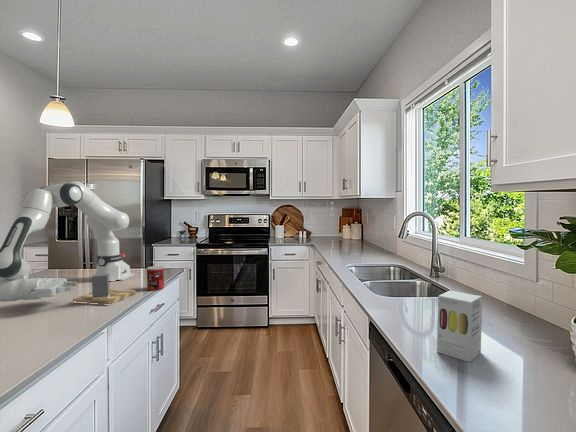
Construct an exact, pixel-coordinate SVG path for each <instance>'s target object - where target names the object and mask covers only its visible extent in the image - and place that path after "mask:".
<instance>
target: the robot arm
mask: <svg viewBox="0 0 576 432" xmlns="http://www.w3.org/2000/svg"><path fill="white" fill-rule="evenodd" d="M68 206H75V207H76V208H77V209H78V210H79V211H80V212H82V213H83V214H84V215H85V216H86V225H87V227H88V228H89V229H90V230H91V231H92V233H93V234H94V236H95V240H96V245H97V256H96V262H97V264H96V268H95V274H109V281H111V282H117V281H116V280H120V281H125V280H128V279H129V277H130V278H132V277H134V276H135V275H136V273H134V272H131V266H130V265H129V264H128V263H126V262H125V261H124V260H123V258H125V256H126V255H125V253H121V252H120V250H121V249H120V240H119V239H118V238H117V237H116V236H115V234H114V233H113V232H115V231H116V232H117V231H123V230H125V229H127V228H128V227H129V225H130V217H129V215H128V214H127V213H126V212H123V211H121V210H118V209H117V208H115V207H113V206H111V205H109V204H108V203H107V202H105V201H103V200H102V199H101V198H100V197H99V196H98V195H97V194H96V193H95V192H94V191H93V190H91V188H89V187H88V186H87V185H85V184H84V183H82V182H81V181H79V180H72V181H69V182H67V183H57V184H52V185H46V186H42V187H40V188H35V189H32V190H30V191H29V192H28V194H26V197H25V199H24V201H23V202H22V205H21V207H20V210H19V212H18V214H17V215H18V216H17V218H16V219H15V220H14V222H13V223H12V225H11V227H10V229H9V230H8V233H7V234H6V237H5V239H4V241H3V243H2V245H1V246H0V303H1V302H3V303H4V302H16V301H19V300H22V301H31V300H33V301H34V300H41V299H42V298H52V297H55V296H56V295H57V294H60V293H64V292H71V291H72V287H76V286H77V284H78V283H77V281H69V280H68V279H67V278H63V277H50V278H49V277H48V278H47V276H42V277H31V278H30V275H31V272H32V267H31V264H30V263H29V262H28V261H27V260H25V258H22V256H21V252H22V249H23V246H24V244H25V242H26V240H27V238H28V236H29V235H30V234H31V233H36V232H40V231H41V230H43V229H44V228H45V227H46V226H47V223H48V222H49V219H50V216H51V213H52V210H53V208H63V207H68Z"/></svg>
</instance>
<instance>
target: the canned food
mask: <svg viewBox="0 0 576 432" xmlns="http://www.w3.org/2000/svg"><path fill="white" fill-rule="evenodd" d="M164 272H165V271H164V266H162V265H154V266H148V267H146V287H147V290H148V291H151V292H152V291H161V290H163V289H164V287H165V282H164V281H165V279H164V277H165V275H164Z"/></svg>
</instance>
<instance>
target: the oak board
mask: <svg viewBox="0 0 576 432" xmlns="http://www.w3.org/2000/svg"><path fill="white" fill-rule="evenodd" d="M136 292H137V291H136V290H135V289H134V290H133V289H132V290H131V289H115V288H114V289H112V288H110V296H109V298H106V299H94V300H93V294H92V291H91V292H89V293H86V294H83V295H81V296H77V297H74V298H72V302H73V301H76V302H87V303H98V304H112V303H114V302H117V301H119V302H121V301H120V300H122V301H124V300H125V298H126V299H129V298H131V297H133V295H134V296H135V295H136ZM130 296H131V297H130ZM128 297H129V298H128ZM123 299H124V300H123ZM117 303H118V302H117ZM114 304H115V303H114ZM112 305H113V304H112Z"/></svg>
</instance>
